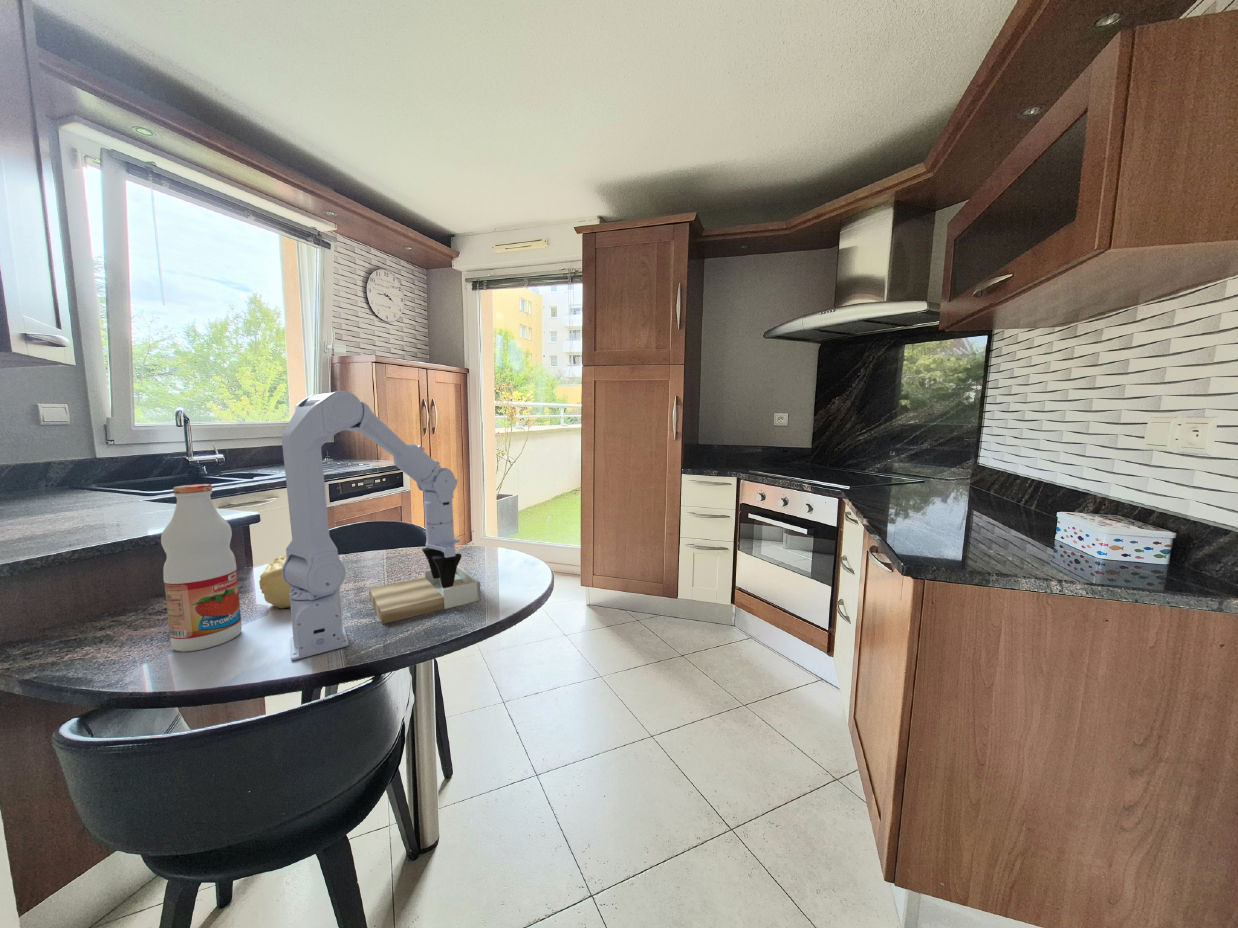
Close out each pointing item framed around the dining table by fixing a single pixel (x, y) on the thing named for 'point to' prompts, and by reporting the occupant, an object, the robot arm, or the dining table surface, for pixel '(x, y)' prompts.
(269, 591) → the sculpture
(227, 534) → the fruit juice
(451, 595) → the tray
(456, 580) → the tile
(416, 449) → the robot arm
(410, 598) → the board
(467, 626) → the dining table surface
